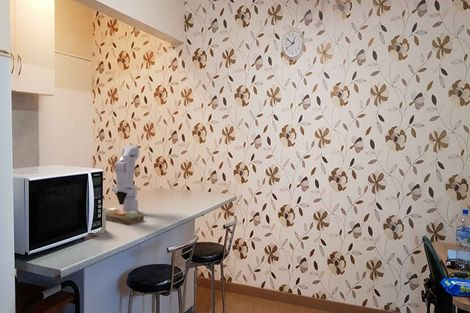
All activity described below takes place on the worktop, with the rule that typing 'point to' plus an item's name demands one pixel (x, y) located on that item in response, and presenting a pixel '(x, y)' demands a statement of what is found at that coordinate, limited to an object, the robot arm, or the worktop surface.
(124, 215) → the salmon pink cube
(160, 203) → the worktop surface
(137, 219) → the slotted board
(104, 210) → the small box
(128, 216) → the block
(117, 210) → the ivory cube
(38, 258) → the worktop surface
